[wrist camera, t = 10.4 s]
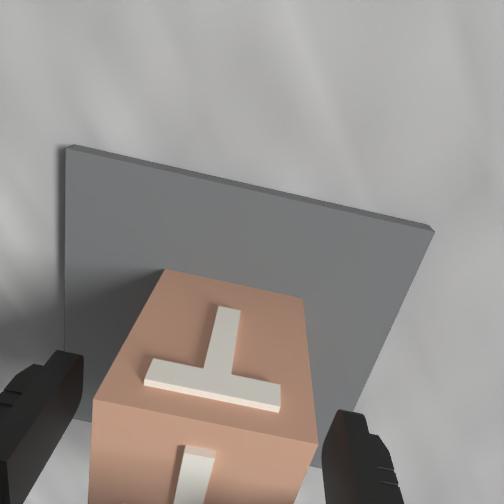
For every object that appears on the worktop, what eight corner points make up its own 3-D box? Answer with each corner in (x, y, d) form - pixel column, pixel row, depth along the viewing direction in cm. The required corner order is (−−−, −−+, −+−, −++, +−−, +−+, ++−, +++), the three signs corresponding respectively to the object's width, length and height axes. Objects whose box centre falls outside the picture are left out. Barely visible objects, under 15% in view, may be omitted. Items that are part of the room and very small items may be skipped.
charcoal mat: (74, 144, 13) (65, 148, 12) (428, 225, 13) (435, 231, 13) (70, 406, 18) (63, 416, 17) (324, 457, 18) (326, 469, 18)
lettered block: (165, 263, 14) (89, 399, 8) (304, 293, 14) (321, 446, 8) (150, 374, 16) (83, 539, 10) (270, 398, 16) (266, 574, 11)
